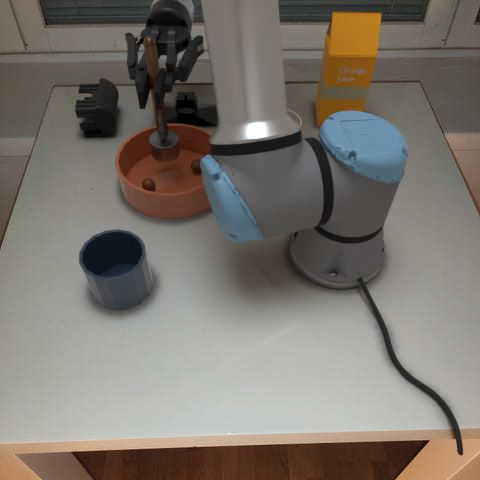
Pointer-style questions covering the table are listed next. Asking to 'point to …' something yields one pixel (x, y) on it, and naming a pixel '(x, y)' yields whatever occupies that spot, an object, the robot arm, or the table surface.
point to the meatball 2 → (196, 165)
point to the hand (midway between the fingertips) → (149, 100)
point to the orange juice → (347, 63)
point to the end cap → (98, 108)
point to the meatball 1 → (148, 184)
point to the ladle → (159, 111)
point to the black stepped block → (191, 111)
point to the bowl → (164, 174)
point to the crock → (116, 269)
